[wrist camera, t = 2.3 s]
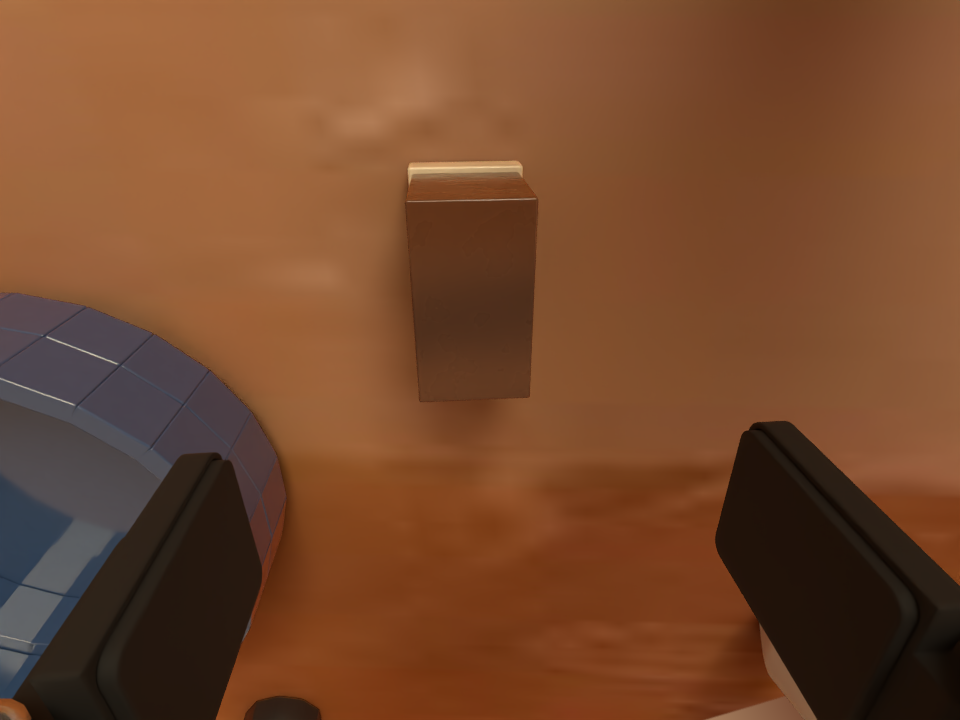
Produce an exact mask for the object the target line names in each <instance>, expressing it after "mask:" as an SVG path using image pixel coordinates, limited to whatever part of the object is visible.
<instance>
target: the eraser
mask: <svg viewBox="0 0 960 720" xmlns="http://www.w3.org/2000/svg"><path fill="white" fill-rule="evenodd" d="M407 171H408V185H409V189H408V193H407V197H406V201H405V207H406V221H407V235H408V249H409V262H410V276H411V290H412V304H413V318H414V332H415V346H416V360H417V374H418V388H419V400H420V402H434V401H459V400H483V399H507V398H528V397H529V396H530V376H531V353H532V330H533V308H534V285H535V262H536V239H537V216H538V198H537V196H536V195H535V194H534V192H533V191H532V190H531V188H530V187H529V186H528V185H527V183H526V182H525V181H524V179H523V167H522V165H521V164H520V163H519V161H465V162H411V163H409V166H408V170H407Z"/></svg>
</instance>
